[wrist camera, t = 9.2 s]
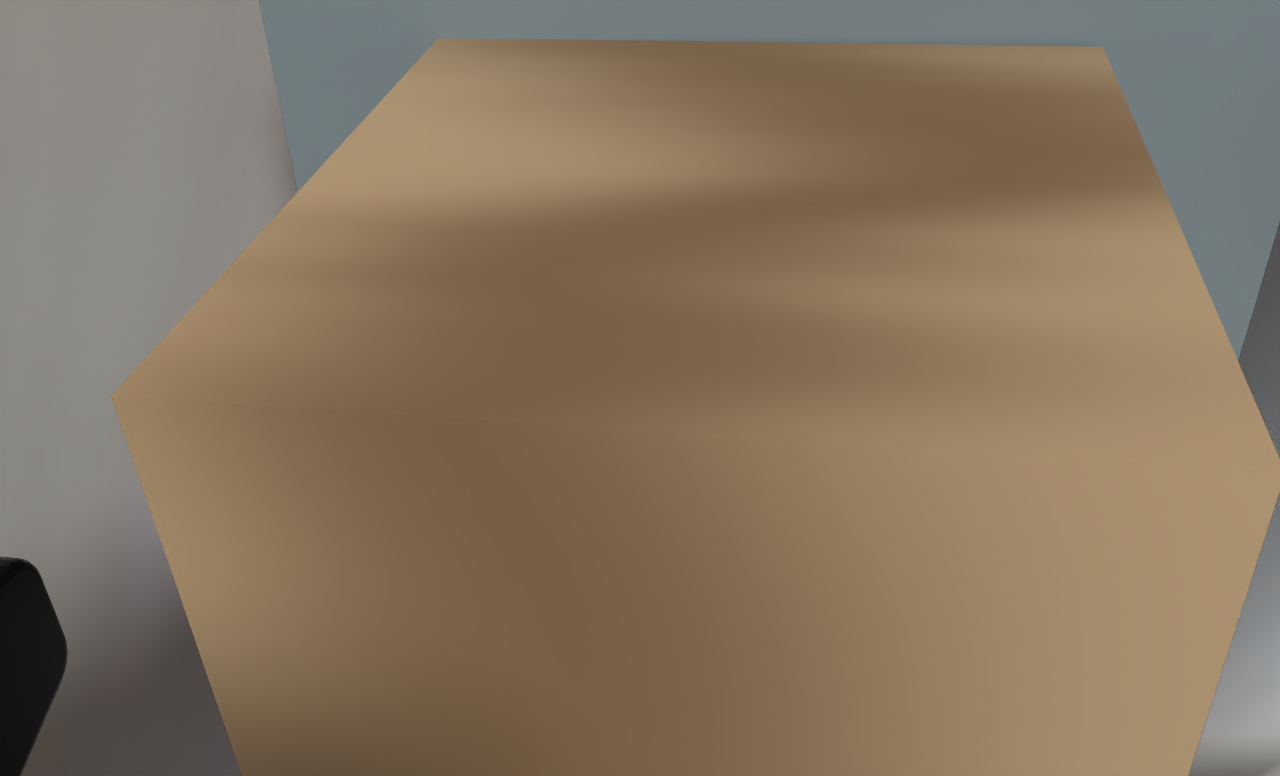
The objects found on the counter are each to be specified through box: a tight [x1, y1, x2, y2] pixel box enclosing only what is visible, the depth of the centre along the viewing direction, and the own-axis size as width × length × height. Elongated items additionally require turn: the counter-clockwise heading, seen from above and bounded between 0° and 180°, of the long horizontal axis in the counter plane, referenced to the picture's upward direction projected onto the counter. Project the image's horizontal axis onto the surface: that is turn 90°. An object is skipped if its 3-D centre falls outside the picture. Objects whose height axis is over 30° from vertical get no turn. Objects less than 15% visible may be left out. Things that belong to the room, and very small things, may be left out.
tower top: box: [259, 0, 1280, 360], centre depth 12 cm, size 8×8×3 cm
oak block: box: [111, 38, 1280, 776], centre depth 9 cm, size 5×5×5 cm
